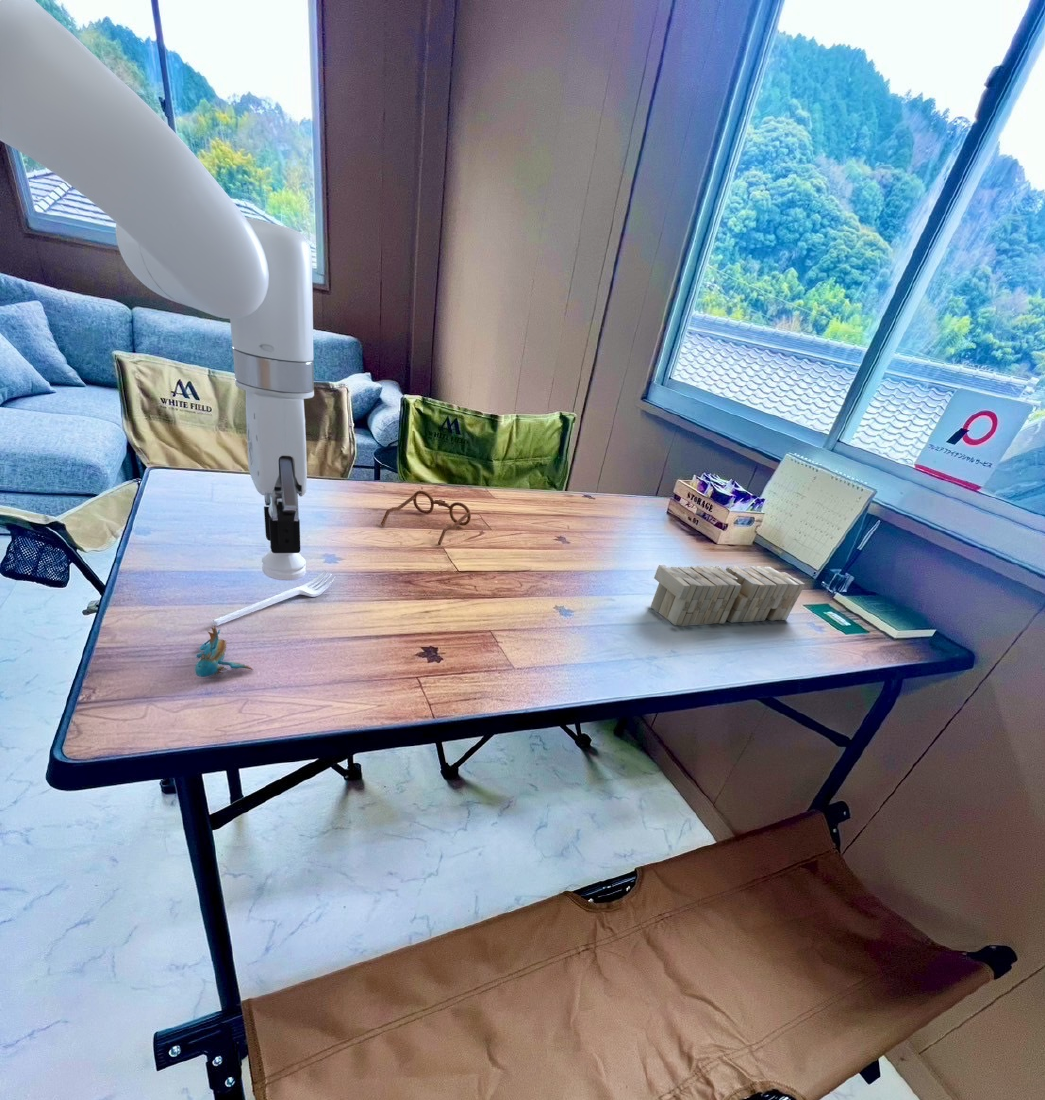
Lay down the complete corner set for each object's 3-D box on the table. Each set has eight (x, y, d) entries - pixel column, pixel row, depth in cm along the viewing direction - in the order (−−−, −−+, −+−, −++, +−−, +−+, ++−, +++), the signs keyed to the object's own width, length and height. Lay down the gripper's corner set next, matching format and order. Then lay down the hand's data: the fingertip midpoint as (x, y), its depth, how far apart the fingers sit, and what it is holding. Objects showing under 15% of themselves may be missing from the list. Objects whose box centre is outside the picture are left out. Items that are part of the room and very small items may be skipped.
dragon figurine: (150, 649, 66) (181, 654, 61) (200, 608, 69) (233, 609, 64) (191, 690, 70) (224, 698, 65) (237, 649, 73) (271, 653, 69)
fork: (205, 622, 74) (203, 609, 73) (322, 580, 89) (322, 568, 88) (223, 632, 73) (222, 619, 72) (338, 587, 88) (338, 576, 87)
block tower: (757, 605, 117) (641, 605, 104) (775, 566, 113) (657, 561, 99) (785, 624, 112) (667, 627, 98) (806, 584, 107) (686, 581, 94)
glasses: (469, 529, 120) (473, 505, 117) (439, 546, 109) (442, 519, 107) (414, 511, 123) (416, 487, 120) (379, 525, 112) (380, 499, 109)
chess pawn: (256, 566, 72) (250, 492, 67) (296, 561, 75) (294, 491, 70) (271, 583, 69) (266, 508, 64) (312, 578, 72) (311, 506, 67)
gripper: (225, 355, 63) (240, 520, 74) (244, 387, 52) (258, 576, 63) (298, 365, 67) (302, 521, 77) (330, 396, 56) (330, 574, 66)
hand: (283, 544), depth 70 cm, fingers closed on chess pawn, 3 cm apart
